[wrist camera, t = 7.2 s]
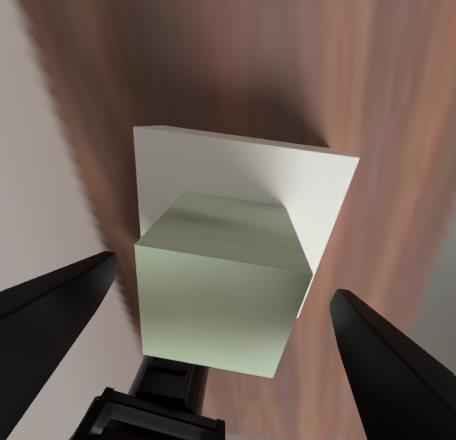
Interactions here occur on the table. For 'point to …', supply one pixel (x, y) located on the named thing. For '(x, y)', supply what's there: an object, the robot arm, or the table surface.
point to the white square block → (243, 177)
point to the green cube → (220, 283)
